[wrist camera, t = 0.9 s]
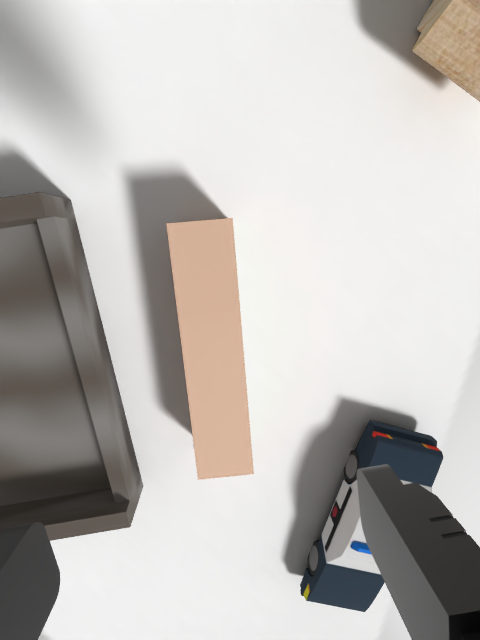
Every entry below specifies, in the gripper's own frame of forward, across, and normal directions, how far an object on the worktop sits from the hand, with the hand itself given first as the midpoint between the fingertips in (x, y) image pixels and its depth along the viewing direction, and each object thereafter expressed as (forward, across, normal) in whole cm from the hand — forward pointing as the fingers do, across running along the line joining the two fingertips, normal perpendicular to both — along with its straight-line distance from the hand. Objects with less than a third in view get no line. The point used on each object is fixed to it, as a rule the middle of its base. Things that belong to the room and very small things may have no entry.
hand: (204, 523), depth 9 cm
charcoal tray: (+17, +14, 0) cm, 22 cm away
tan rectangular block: (+17, 0, 0) cm, 17 cm away
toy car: (+17, -9, +16) cm, 25 cm away
